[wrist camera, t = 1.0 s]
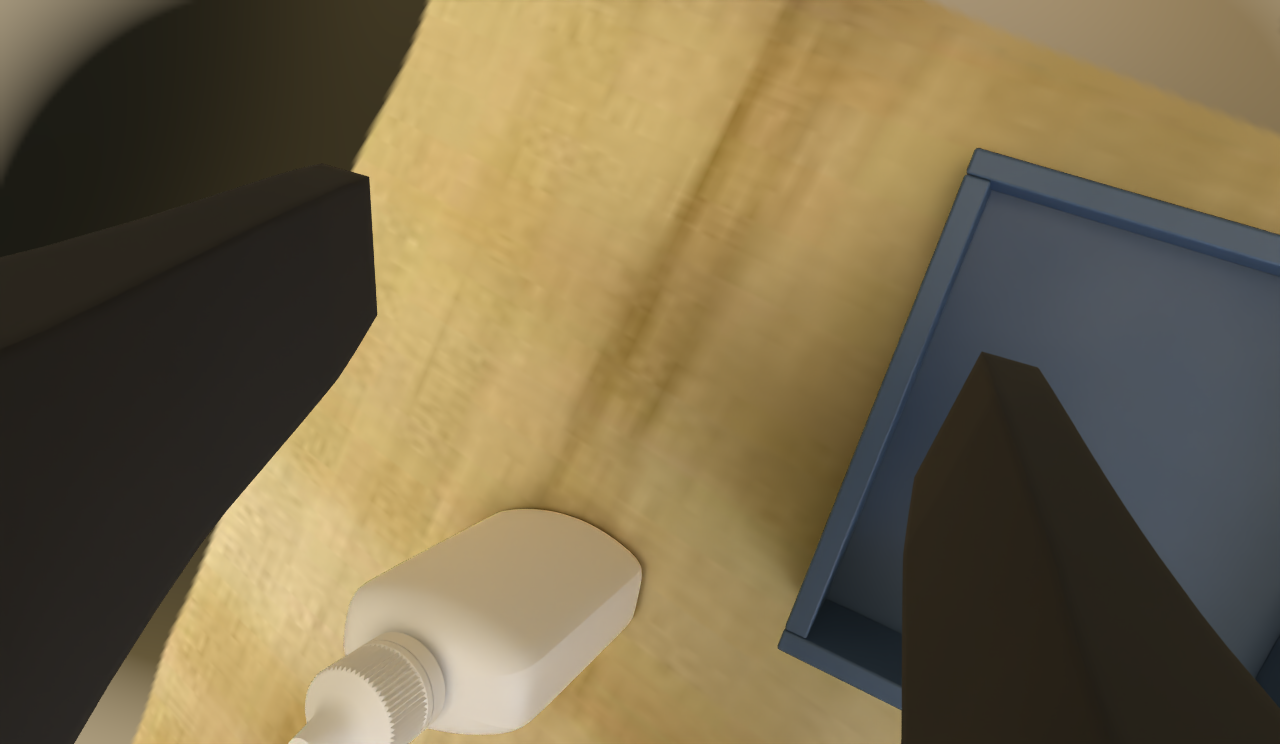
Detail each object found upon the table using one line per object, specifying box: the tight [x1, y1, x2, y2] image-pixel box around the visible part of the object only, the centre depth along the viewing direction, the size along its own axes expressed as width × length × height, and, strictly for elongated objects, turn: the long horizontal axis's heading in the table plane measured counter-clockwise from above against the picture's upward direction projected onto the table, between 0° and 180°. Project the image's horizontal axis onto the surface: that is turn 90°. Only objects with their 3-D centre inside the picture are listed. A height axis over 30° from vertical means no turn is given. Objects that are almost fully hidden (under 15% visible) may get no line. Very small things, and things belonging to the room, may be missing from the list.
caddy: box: [778, 148, 1280, 710], centre depth 21 cm, size 13×11×4 cm
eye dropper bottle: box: [289, 509, 642, 744], centre depth 23 cm, size 4×6×12 cm
